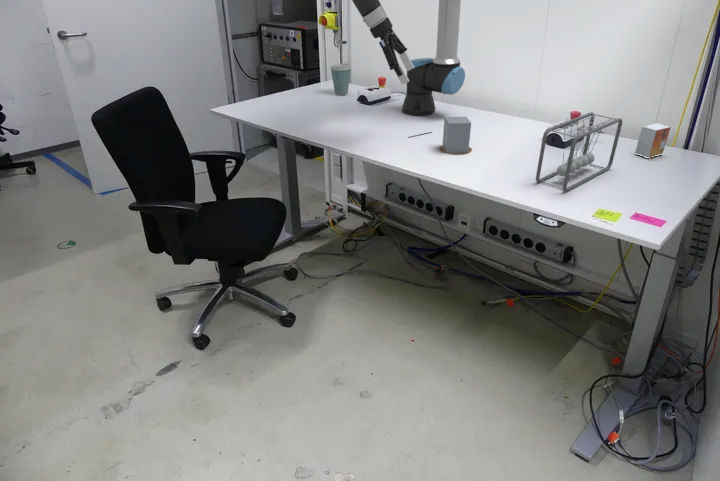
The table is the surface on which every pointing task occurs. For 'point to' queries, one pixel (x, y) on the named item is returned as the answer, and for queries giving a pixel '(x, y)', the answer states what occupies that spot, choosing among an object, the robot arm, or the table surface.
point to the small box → (652, 139)
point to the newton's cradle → (581, 160)
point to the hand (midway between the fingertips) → (408, 75)
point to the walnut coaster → (453, 153)
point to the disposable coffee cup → (341, 78)
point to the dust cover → (456, 134)
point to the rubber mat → (420, 134)
